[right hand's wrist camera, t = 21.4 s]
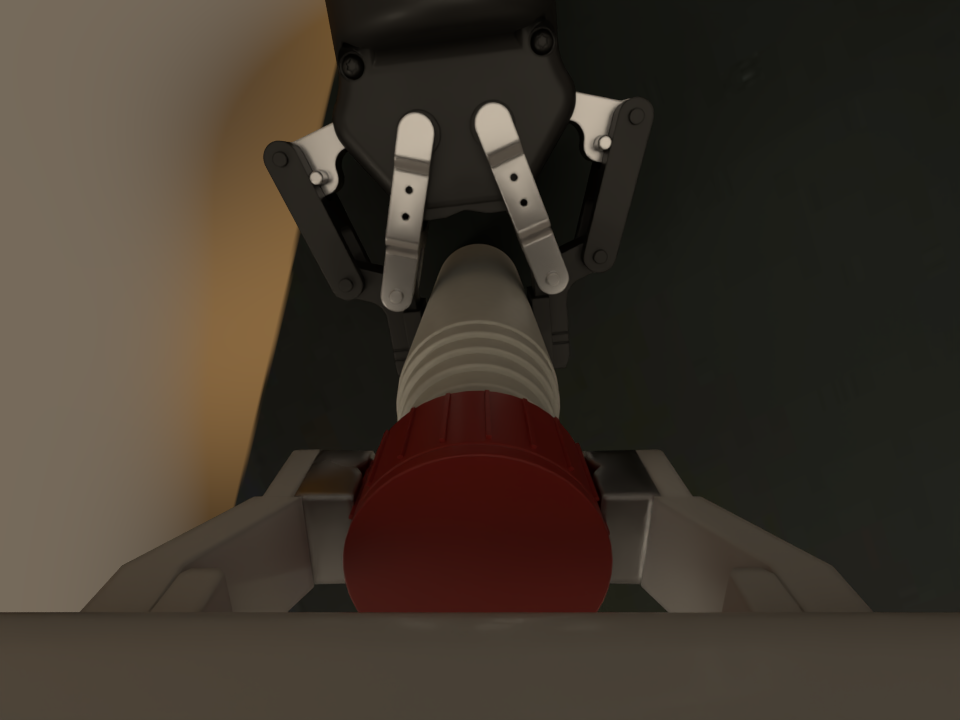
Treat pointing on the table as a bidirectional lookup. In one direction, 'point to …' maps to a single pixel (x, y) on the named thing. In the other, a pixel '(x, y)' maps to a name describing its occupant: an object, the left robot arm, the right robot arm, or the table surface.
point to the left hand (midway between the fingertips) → (486, 380)
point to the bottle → (478, 336)
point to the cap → (477, 514)
